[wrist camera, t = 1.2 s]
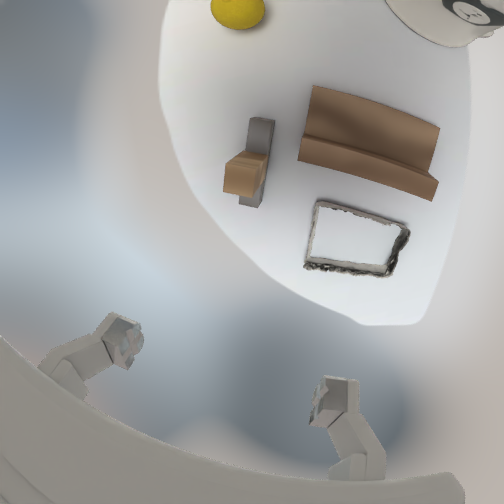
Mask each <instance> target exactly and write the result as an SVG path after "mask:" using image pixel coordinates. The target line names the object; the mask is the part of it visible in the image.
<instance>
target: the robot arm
mask: <svg viewBox="0 0 504 504" xmlns="http://www.w3.org/2000/svg"><path fill="white" fill-rule="evenodd" d="M385 1H386V2H387V4H388V5H389V7H390V8H391V9H392V11H393V12H394V13H395V14H396V15H397V16H398V17H399V18H400V19H401V20H402V21H403V22H404V23H405V24H406V25H407V26H408V27H410V28H411V29H412V30H414V31H415V32H416V33H418V34H419V35H421V36H423V37H424V38H426V39H428V40H430V41H432V42H434V43H437V44H440V45H443V46H448V47H462V46H466V45H468V44H470V43H471V42H472V41H474V40H475V39H476V38H478V37H481V38H486V37H490V36H492V35H493V33H494V30H496V29H498V28H500V27H502V26H504V0H385ZM140 330H141V325H140V323H138V322H135V321H133V320H131V319H128V318H126V317H123V316H121V315H119V314H116V313H114V312H111V313H109V314H108V315H107V316H106V318H105V319H104V320H103V321H102V323H101V324H100V325H99V326H98V327H97V329H96V330H95V331H94V333H93V334H92V335H91V334H87V335H85V336H82V337H80V338H78V339H75V340H73V341H71V342H68V343H65V344H63V345H60V346H58V347H55V348H53V349H51V350H50V351H49V353H48V354H47V355H46V357H45V358H44V359H43V360H42V362H41V363H40V364H39V365H38V367H36V366H34V365H33V364H32V363H31V362H29V361H28V360H27V359H26V358H25V357H24V356H23V355H21V354H20V353H19V352H18V351H17V350H16V349H15V348H14V347H13V346H12V345H11V344H10V343H8V342H7V341H6V340H5V339H4V338H3V337H2V336H1V335H0V504H465V492H464V489H463V487H462V486H461V484H460V483H459V481H458V480H457V479H456V478H455V476H454V475H453V474H452V473H450V472H443V473H438V474H432V475H426V476H419V477H412V478H403V479H392V480H385V473H386V452H385V450H384V449H383V447H382V445H381V444H380V442H379V441H378V439H377V437H376V436H375V434H374V432H373V431H372V429H371V428H370V426H369V424H368V423H367V421H366V420H365V418H364V416H363V415H362V414H359V382H358V380H354V379H346V378H341V377H334V376H327V375H324V376H323V377H322V379H321V383H320V384H318V385H317V386H316V388H315V391H314V393H313V398H312V405H313V406H314V408H313V410H312V411H311V413H310V421H309V425H311V426H317V427H324V428H327V431H328V433H329V435H330V437H331V440H332V442H333V444H334V447H335V449H336V451H337V453H338V455H339V458H340V460H341V461H340V462H339V463H337V464H335V465H333V466H332V467H330V468H329V471H328V477H327V480H319V479H308V478H299V477H291V476H284V475H278V474H272V473H266V472H261V471H256V470H251V469H247V468H243V467H238V466H234V465H230V464H227V463H223V462H219V461H216V460H213V459H209V458H206V457H203V456H200V455H197V454H194V453H191V452H188V451H185V450H182V449H180V448H177V447H174V446H172V445H169V444H167V443H164V442H162V441H160V440H157V439H155V438H153V437H150V436H148V435H146V434H144V433H142V432H139V431H137V430H135V429H133V428H131V427H129V426H127V425H125V424H123V423H121V422H119V421H117V420H115V419H114V418H112V417H110V416H108V415H106V414H104V413H103V412H101V411H99V410H98V409H96V408H94V407H92V406H91V405H89V404H88V403H86V402H84V401H83V400H84V399H85V397H86V396H87V394H88V392H89V390H88V388H87V386H86V385H85V384H84V381H85V380H87V379H89V378H91V377H93V376H94V375H96V374H98V373H100V372H101V371H103V370H105V369H106V368H108V367H110V366H112V365H113V364H115V365H118V366H120V367H122V368H124V369H126V370H128V369H129V368H130V366H131V365H132V363H133V361H134V355H135V354H137V353H139V352H140V350H141V349H142V346H143V343H144V336H143V334H142V333H141V332H140Z"/></svg>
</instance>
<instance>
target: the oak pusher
mask: <svg viewBox="0 0 504 504" xmlns="http://www.w3.org/2000/svg"><path fill="white" fill-rule="evenodd" d="M274 123H275V120H270V119H264V118H257V117H253V118H250V122H249V129H248V136H247V144H246V151H242V152H241V153H239V154H238V155H237V156H235V157H234V158H233V159H231V160H230V161H229V162H227V163H226V166H225V176H224V186H223V192H226V193H231V194H236V195H240V197H239V204H241V205H246V206H250V207H255V208H258V207H259V205H260V203H261V201H262V195H263V189H264V183H265V177H266V171H267V165H268V159H269V153H270V147H271V141H272V135H273V129H274Z"/></svg>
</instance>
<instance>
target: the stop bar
mask: <svg viewBox="0 0 504 504" xmlns="http://www.w3.org/2000/svg"><path fill="white" fill-rule="evenodd" d="M439 131H440V128H439V127H437V126H435V125H432V124H430V123H428V122H426V121H423V120H421V119H419V118H416V117H414V116H411V115H409V114H406V113H404V112H401V111H399V110H396V109H393V108H391V107H388V106H385V105H382V104H379V103H376V102H373V101H370V100H367V99H364V98H360V97H357V96H354V95H350V94H346V93H343V92H339V91H335V90H331V89H327V88H323V87H318V86H314V85H313V88H312V94H311V99H310V105H309V110H308V115H307V121H306V126H305V131H304V135H303V137H302V140H301V145H300V150H299V155H298V160H297V161H302V162H306V163H310V164H314V165H318V166H322V167H326V168H330V169H334V170H337V171H341V172H345V173H348V174H352V175H355V176H358V177H362V178H365V179H368V180H372V181H375V182H378V183H381V184H384V185H387V186H390V187H393V188H396V189H399V190H402V191H405V192H407V193H410V194H413V195H416V196H418V197H421V198H424V199H426V200H429V201H431V202H432V199H433V197H434V194H435V191H436V189H437V186H438V183H439V182H438V181H437V180H436V179H435V178H434V177H433V176H431V175H430V174H429V173H428V170H429V167H430V163H431V160H432V157H433V153H434V150H435V146H436V143H437V139H438V135H439Z"/></svg>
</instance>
